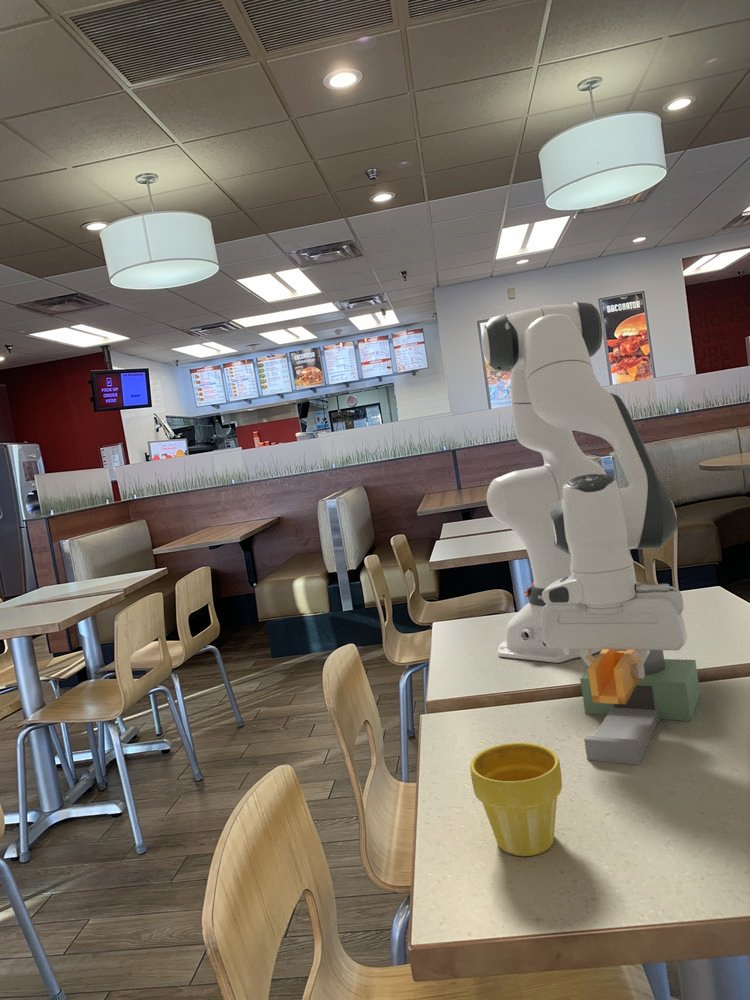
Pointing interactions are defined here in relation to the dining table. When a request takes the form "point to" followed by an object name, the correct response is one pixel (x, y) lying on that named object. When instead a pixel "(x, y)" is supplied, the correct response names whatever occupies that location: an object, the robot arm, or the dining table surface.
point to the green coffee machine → (642, 709)
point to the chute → (613, 676)
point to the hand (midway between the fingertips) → (617, 676)
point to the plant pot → (519, 794)
